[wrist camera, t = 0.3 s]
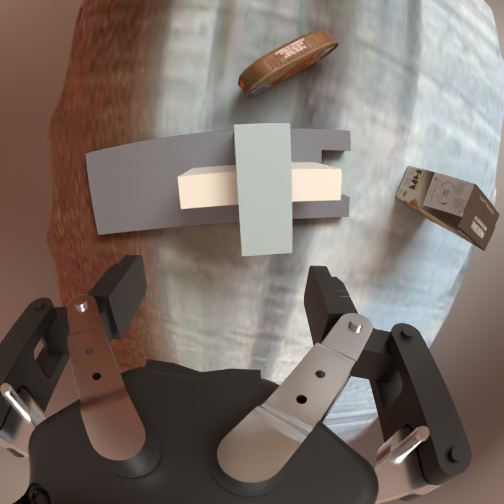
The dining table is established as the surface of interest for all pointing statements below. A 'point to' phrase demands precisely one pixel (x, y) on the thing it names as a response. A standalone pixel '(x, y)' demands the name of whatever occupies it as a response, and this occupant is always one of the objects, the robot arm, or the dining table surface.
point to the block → (226, 191)
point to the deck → (178, 162)
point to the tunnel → (264, 187)
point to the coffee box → (450, 204)
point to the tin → (286, 62)
